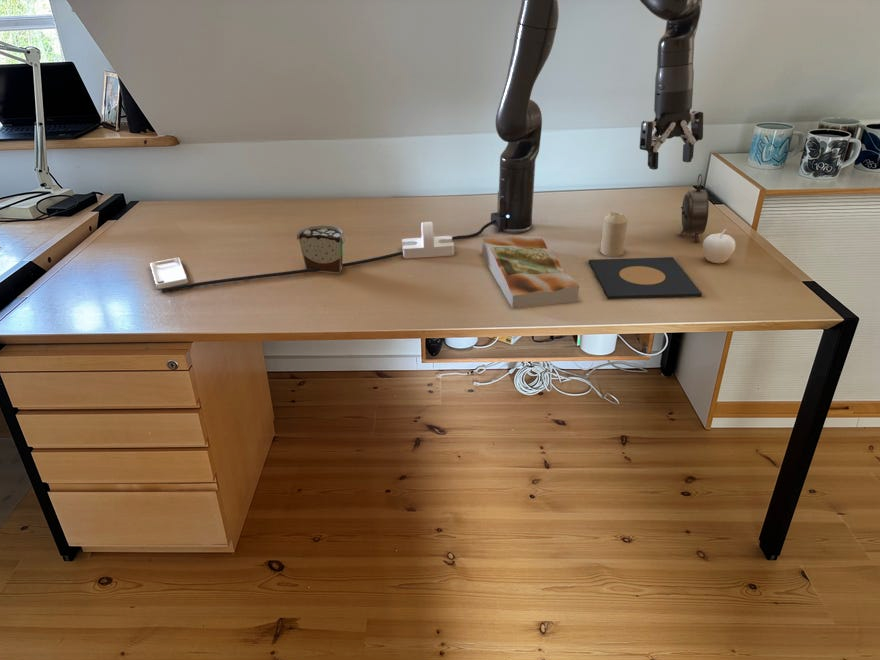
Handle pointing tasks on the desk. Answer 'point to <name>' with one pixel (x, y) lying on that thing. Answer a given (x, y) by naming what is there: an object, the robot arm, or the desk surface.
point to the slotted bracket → (427, 244)
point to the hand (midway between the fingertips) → (670, 165)
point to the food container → (322, 248)
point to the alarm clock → (695, 211)
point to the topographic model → (528, 271)
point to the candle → (614, 234)
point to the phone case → (169, 273)
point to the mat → (643, 278)
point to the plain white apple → (718, 247)
